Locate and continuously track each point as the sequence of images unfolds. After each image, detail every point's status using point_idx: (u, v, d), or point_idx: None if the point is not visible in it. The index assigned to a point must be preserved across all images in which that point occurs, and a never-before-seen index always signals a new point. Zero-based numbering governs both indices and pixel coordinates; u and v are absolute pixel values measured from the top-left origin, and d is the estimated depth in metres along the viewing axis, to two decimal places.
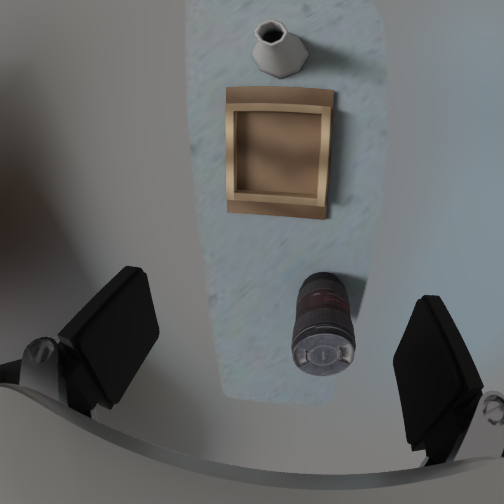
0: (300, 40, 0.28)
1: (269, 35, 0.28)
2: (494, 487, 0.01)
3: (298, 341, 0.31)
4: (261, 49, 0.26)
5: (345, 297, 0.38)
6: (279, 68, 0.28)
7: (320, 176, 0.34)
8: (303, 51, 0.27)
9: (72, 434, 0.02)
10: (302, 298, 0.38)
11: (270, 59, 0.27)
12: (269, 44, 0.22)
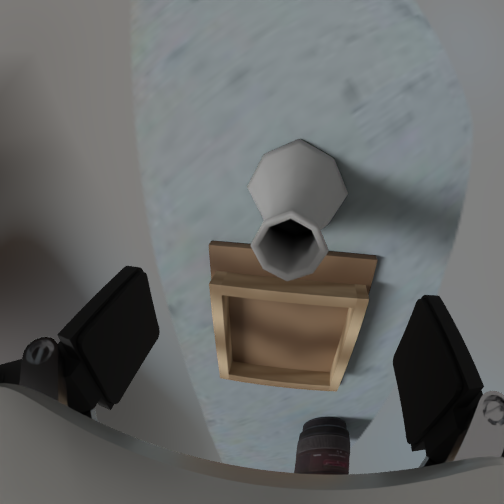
0: (336, 167, 0.19)
1: None
2: (494, 487, 0.01)
3: None
4: None
5: (346, 450, 0.29)
6: (297, 237, 0.19)
7: (337, 369, 0.25)
8: (341, 201, 0.18)
9: (72, 434, 0.02)
10: (303, 452, 0.30)
11: (282, 235, 0.18)
12: (283, 277, 0.13)
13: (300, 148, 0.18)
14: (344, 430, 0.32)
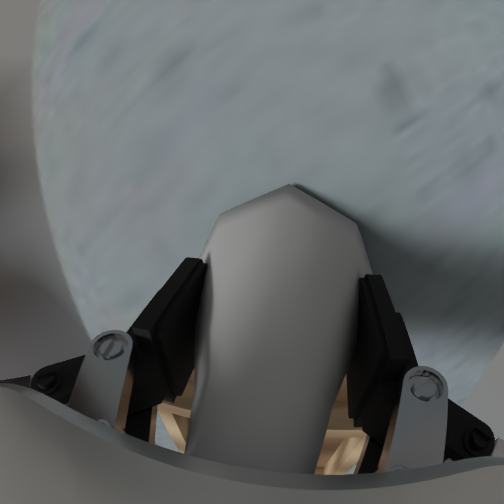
0: (360, 241, 0.10)
1: None
2: (494, 487, 0.01)
3: None
4: None
5: None
6: None
7: None
8: None
9: (72, 434, 0.02)
10: None
11: None
12: None
13: (289, 211, 0.09)
14: None
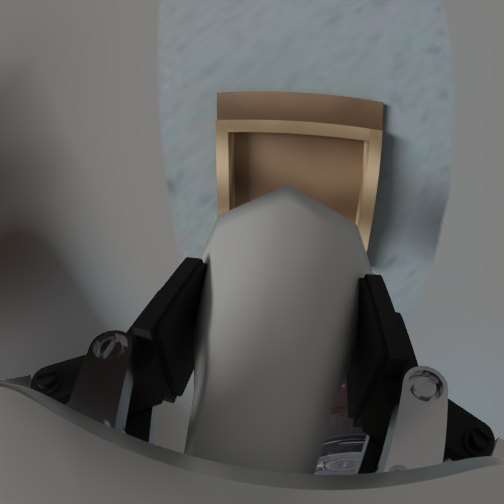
0: (360, 242, 0.10)
1: None
2: (494, 487, 0.01)
3: None
4: None
5: None
6: None
7: None
8: None
9: (72, 434, 0.02)
10: None
11: None
12: None
13: (289, 212, 0.09)
14: None
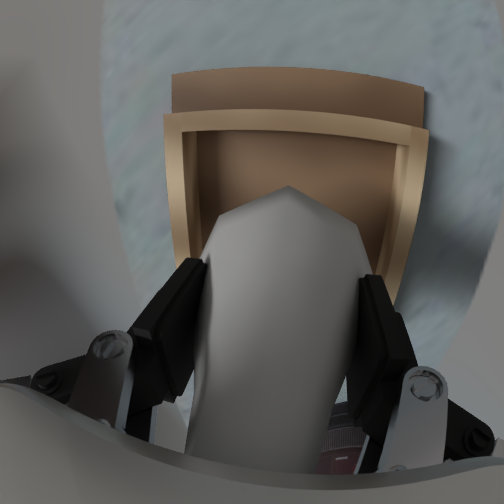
0: (360, 242, 0.10)
1: None
2: (494, 487, 0.01)
3: None
4: None
5: None
6: None
7: None
8: None
9: (72, 434, 0.02)
10: None
11: None
12: None
13: (289, 213, 0.09)
14: None
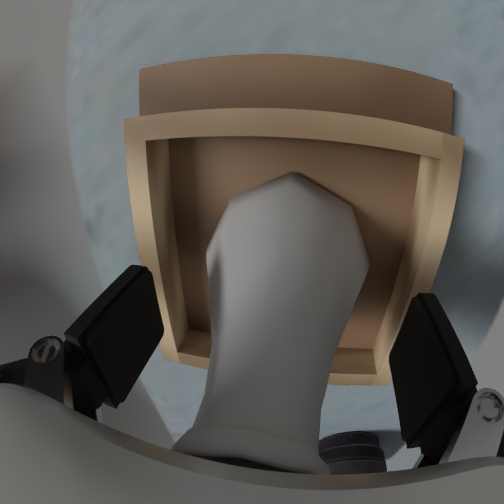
0: (355, 221, 0.11)
1: None
2: (494, 487, 0.01)
3: None
4: None
5: None
6: None
7: (397, 334, 0.11)
8: (361, 285, 0.11)
9: (72, 434, 0.02)
10: None
11: None
12: None
13: (292, 192, 0.10)
14: (379, 450, 0.18)
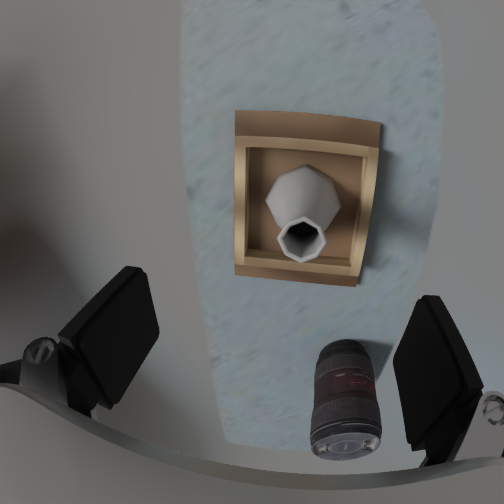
0: (333, 185, 0.25)
1: None
2: (494, 487, 0.01)
3: (320, 437, 0.23)
4: (283, 226, 0.23)
5: (371, 373, 0.29)
6: (303, 238, 0.26)
7: (358, 240, 0.26)
8: (336, 211, 0.25)
9: (72, 434, 0.02)
10: (323, 376, 0.30)
11: (293, 236, 0.24)
12: (298, 260, 0.19)
13: (307, 171, 0.24)
14: (365, 353, 0.32)
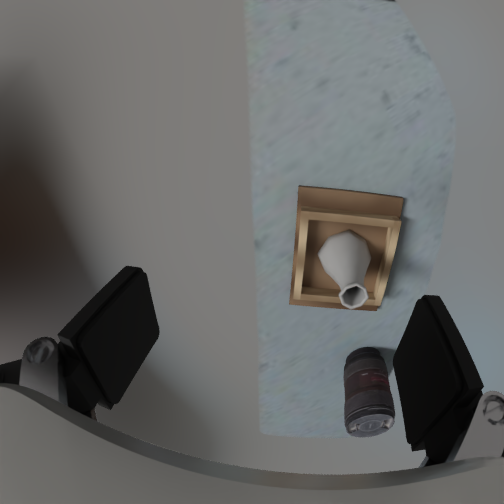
0: (366, 244, 0.35)
1: None
2: (494, 487, 0.01)
3: (353, 419, 0.33)
4: (335, 279, 0.33)
5: (386, 372, 0.39)
6: None
7: (381, 282, 0.35)
8: (368, 264, 0.35)
9: (72, 434, 0.02)
10: (352, 375, 0.40)
11: None
12: (350, 307, 0.29)
13: (350, 237, 0.34)
14: (381, 357, 0.42)
